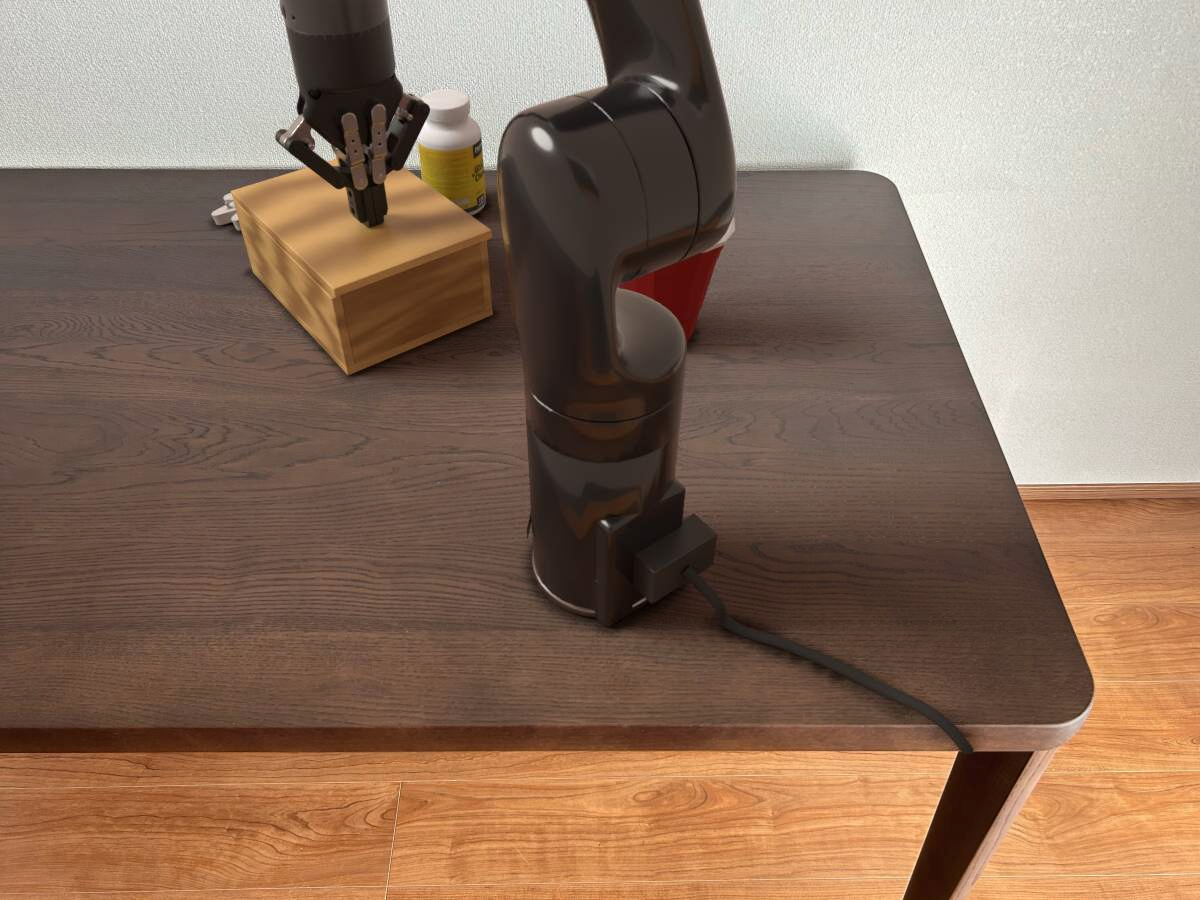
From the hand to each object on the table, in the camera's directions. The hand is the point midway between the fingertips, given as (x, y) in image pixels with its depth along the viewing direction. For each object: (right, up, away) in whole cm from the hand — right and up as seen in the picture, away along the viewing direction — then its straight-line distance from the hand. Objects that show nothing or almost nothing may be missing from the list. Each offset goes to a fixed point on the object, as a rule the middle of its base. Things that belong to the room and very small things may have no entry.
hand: (371, 221), depth 83 cm
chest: (-2, -5, +8) cm, 10 cm away
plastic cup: (+25, -9, +4) cm, 27 cm away
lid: (-2, +1, +2) cm, 3 cm away
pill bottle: (+4, +6, +20) cm, 21 cm away
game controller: (-14, +5, +18) cm, 24 cm away
